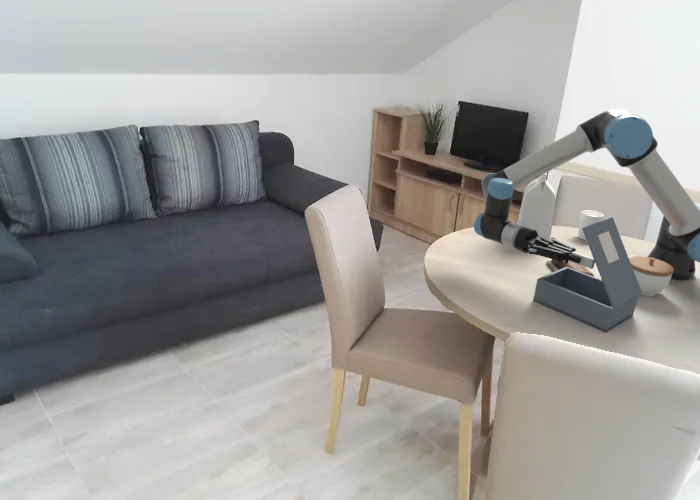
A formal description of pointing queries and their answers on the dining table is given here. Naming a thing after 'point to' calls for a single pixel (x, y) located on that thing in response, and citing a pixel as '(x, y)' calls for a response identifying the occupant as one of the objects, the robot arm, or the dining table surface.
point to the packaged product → (559, 265)
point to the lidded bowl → (651, 274)
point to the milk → (538, 207)
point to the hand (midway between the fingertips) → (593, 263)
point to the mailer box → (582, 299)
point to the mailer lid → (612, 261)
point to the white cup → (588, 220)
